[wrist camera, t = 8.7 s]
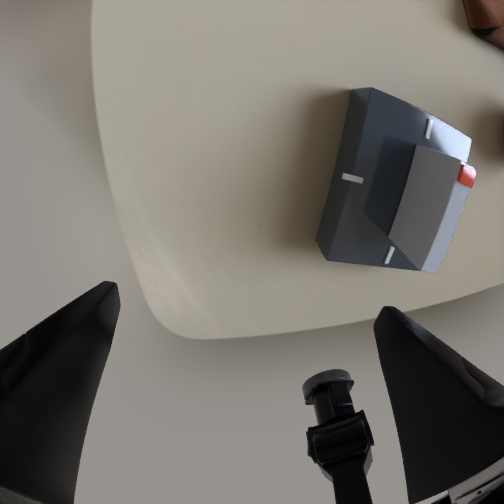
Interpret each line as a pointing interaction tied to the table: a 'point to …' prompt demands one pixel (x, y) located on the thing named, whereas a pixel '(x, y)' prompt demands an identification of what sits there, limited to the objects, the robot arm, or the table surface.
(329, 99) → the table surface
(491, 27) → the sunglasses case
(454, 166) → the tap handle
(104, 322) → the robot arm
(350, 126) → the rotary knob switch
